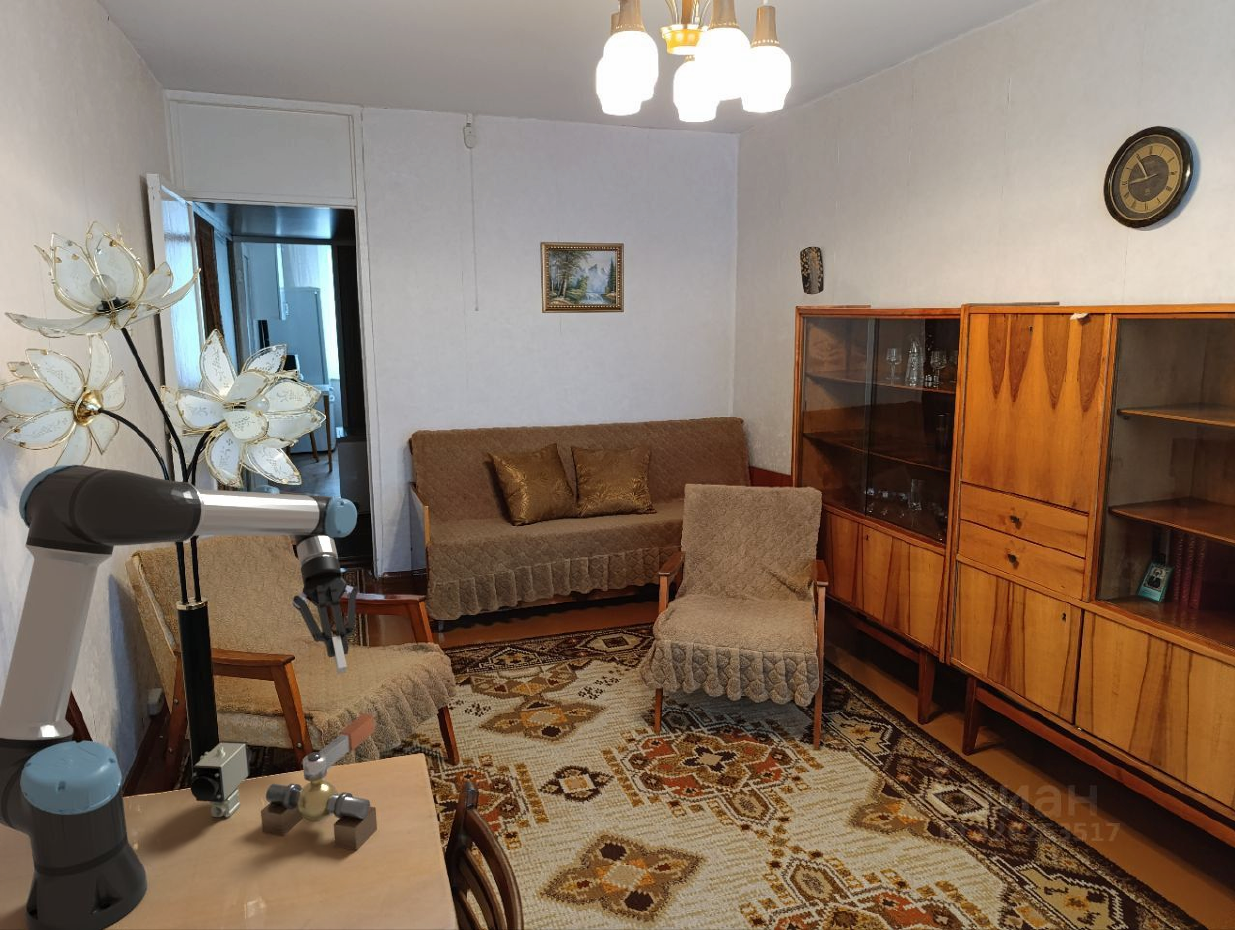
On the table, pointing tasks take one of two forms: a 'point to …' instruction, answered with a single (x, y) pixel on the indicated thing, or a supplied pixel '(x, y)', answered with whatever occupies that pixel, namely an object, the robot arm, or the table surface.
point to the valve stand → (319, 811)
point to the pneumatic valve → (221, 776)
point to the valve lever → (338, 747)
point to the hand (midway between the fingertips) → (342, 670)
